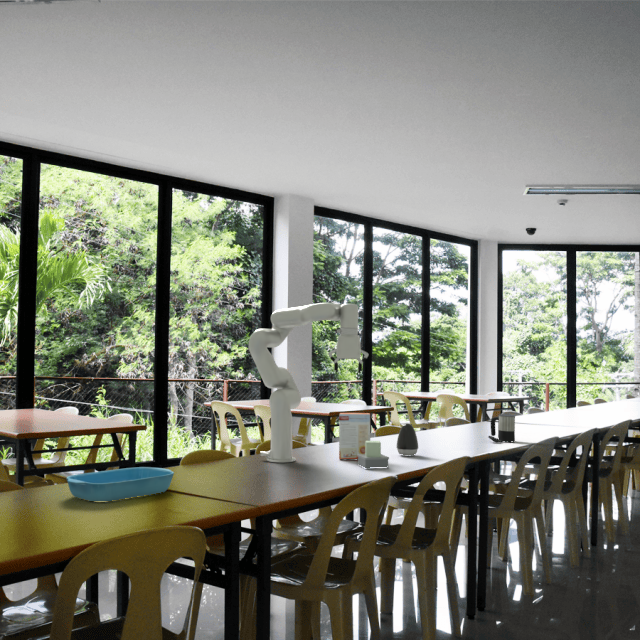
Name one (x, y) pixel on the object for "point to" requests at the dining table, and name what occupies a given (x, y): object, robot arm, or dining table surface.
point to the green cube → (373, 448)
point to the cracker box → (353, 434)
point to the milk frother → (503, 428)
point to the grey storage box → (372, 461)
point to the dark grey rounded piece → (407, 440)
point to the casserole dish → (120, 483)
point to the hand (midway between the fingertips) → (347, 372)
